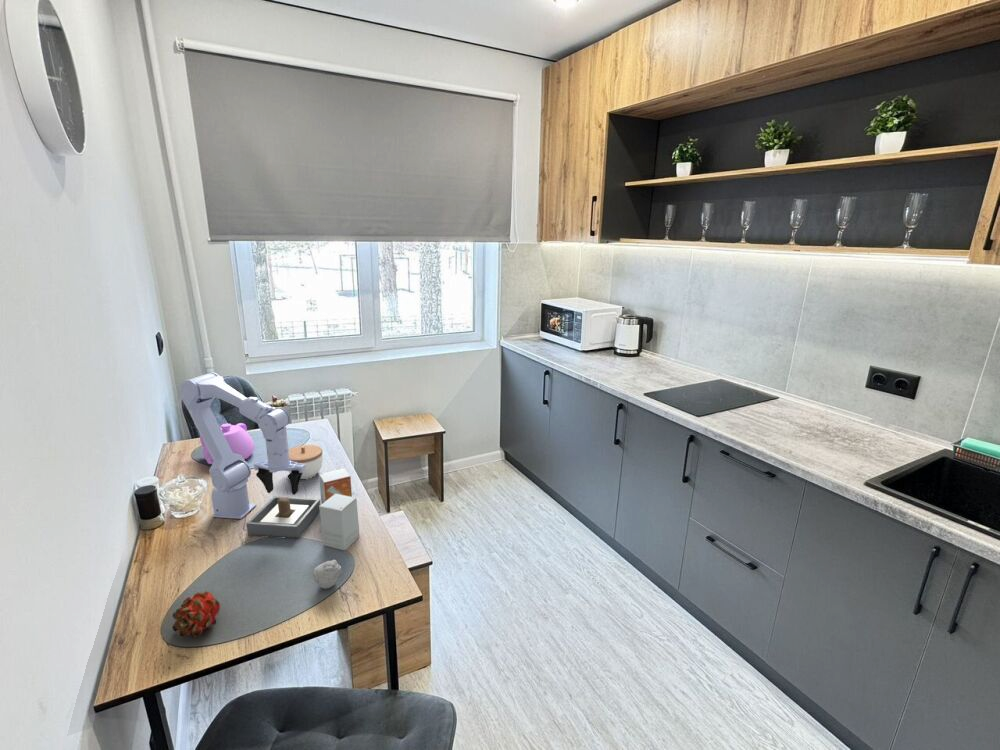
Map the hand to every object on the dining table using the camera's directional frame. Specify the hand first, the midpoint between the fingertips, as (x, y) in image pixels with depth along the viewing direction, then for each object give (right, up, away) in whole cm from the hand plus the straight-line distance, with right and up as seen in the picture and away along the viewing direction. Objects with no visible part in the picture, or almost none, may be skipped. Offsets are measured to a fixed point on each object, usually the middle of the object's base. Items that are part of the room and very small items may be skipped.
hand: (282, 492), depth 142 cm
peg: (0, -9, +2) cm, 9 cm away
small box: (+14, -8, +8) cm, 18 cm away
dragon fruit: (-2, -21, -36) cm, 42 cm away
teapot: (-42, +3, +43) cm, 60 cm away
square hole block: (0, -10, +2) cm, 10 cm away
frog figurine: (+22, -18, -23) cm, 37 cm away
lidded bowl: (-6, -2, +31) cm, 31 cm away
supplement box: (+19, -13, -6) cm, 24 cm away
